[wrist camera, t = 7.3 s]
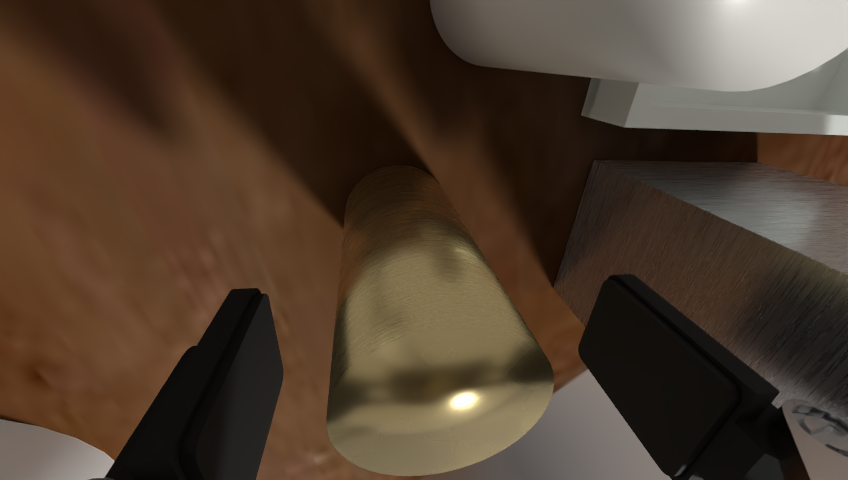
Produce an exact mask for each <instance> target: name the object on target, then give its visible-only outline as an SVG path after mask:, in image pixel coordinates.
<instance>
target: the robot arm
mask: <svg viewBox="0 0 848 480" xmlns="http://www.w3.org/2000/svg"><path fill="white" fill-rule="evenodd" d="M578 351H579V355H580V358H581V359H582V361H583V362H584V363H585V365H586V366H587V368H588V369H589V370H590V372H591V373H592V375H593V376H594V377H595V379H596V380H597V382H598V383H599V384H600V386H601V387H602V389H603V390H604V391H605V393H606V394H607V395H608V397H609V398H610V400H611V401H612V402H613V404H614V405H615V407H616V408H617V409H618V411H619V412H620V414H621V415H622V416H623V418H624V419H625V421H626V422H627V423H628V425H629V426H630V428H631V429H632V430H633V432H634V433H635V434H636V436H637V437H638V439H639V440H640V442H641V443H642V444H643V446H644V447H645V448H646V450H647V451H648V453H649V454H650V456H651V457H652V458H653V460H654V461H655V462H656V464H657V465H658V467H659V468H660V469H661V470H662V472H664V473H665V474H666V475H668V476H670V478H671V479H672V480H848V419H846V418H845V417H843V416H841V415H839V414H837V413H836V412H834V411H832V410H830V409H828V408H825V407H823V406H821V405H818V404H816V403H812V402H809V401H806V400H800V399H790V400H785V402H784V403H783V404H782V405H781V406H780V407H779V408H777V407H775V406H774V405H773V404H772V403H771V402H772V401H773V400H774V399H775V398H776V396H777V395H778V394H779V393H780V391H779V390H778V389H777V388H775V387H774V386H773V385H772V384H770V383H769V382H768V381H766V380H765V379H764V378H763V377H761V376H760V375H759V374H758V373H756V372H755V371H754V370H753V369H751V368H750V367H749V366H748V365H746V364H745V363H744V362H743V361H741V360H740V359H739V358H738V357H736V356H735V355H734V354H733V353H731V352H730V351H729V350H728V349H726V348H725V347H724V346H723V345H721V344H720V343H719V342H718V341H716V340H715V339H714V338H713V337H711V336H710V335H709V334H708V333H706V332H705V331H704V330H703V329H701V328H700V327H699V326H698V325H696V324H695V323H694V322H693V321H691V320H690V319H689V318H687V317H686V316H685V315H684V314H682V313H681V312H680V311H679V310H677V309H676V308H675V307H674V306H672V305H671V304H670V303H669V302H667V301H666V300H665V299H664V298H662V297H661V296H660V295H659V294H657V293H656V292H655V291H654V290H652V289H651V288H650V287H649V286H647V285H646V284H645V283H644V282H642V281H641V280H640V279H639V278H637V277H636V276H634V275H632V274H620V275H611V276H609V277H608V278H607V280H605V281H604V282H603V284H602V286H601V288H600V291H599V294H598V296H597V299H596V302H595V304H594V307H593V310H592V312H591V315H590V317H589V320H588V323H587V325H586V328H585V331H584V333H583V336H582V339H581V341H580V344H579V347H578ZM282 381H283V365H282V360H281V355H280V350H279V346H278V341H277V336H276V331H275V326H274V321H273V316H272V311H271V307H270V302H269V297H268V295H267V294H261V292H260V290H259V289H258V288H249V289H233V290H231V291H230V293H229V294H228V296H227V297H226V299H225V301H224V302H223V304H222V305H221V307H220V309H219V310H218V312H217V314H216V315H215V317H214V318H213V320H212V322H211V323H210V325H209V327H208V328H207V330H206V331H205V333H204V335H203V336H202V338H201V340H200V341H199V343H198V345H197V346H192V347H191V348H189V349H188V350H187V351H186V352H185V353H184V355H183V356H182V357H181V359H180V361H179V362H178V364H177V365H176V367H175V368H174V370H173V372H172V373H171V375H170V376H169V378H168V379H167V381H166V382H165V384H164V386H163V387H162V389H161V390H160V392H159V393H158V395H157V396H156V398H155V400H154V401H153V403H152V404H151V406H150V407H149V409H148V410H147V412H146V414H145V415H144V417H143V418H142V420H141V421H140V423H139V424H138V426H137V428H136V429H135V431H134V432H133V434H132V435H131V437H130V438H129V440H128V442H127V443H126V445H125V446H124V448H123V449H122V451H121V452H120V454H119V456H118V457H117V459H116V460H115V462H114V463H113V465H112V466H111V468H110V470H109V471H108V473H107V474H106V476H105V477H104V478H92V479H89V480H256V476H257V473H258V469H259V465H260V462H261V458H262V454H263V451H264V447H265V444H266V440H267V436H268V433H269V429H270V425H271V422H272V418H273V414H274V411H275V407H276V404H277V400H278V396H279V393H280V389H281V385H282Z"/></svg>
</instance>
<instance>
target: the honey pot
mask: <svg viewBox="0 0 848 480" xmlns="http://www.w3.org/2000/svg"><path fill="white" fill-rule="evenodd" d="M114 462H115V461H114V460H113V459H112V458H110V457H109V456H108V455H107V454H106V453H105V452H103V451H101V450H99V449H97V448H95V447H93V446H91V445H89V444H87V443H85V442H83V441H81V440H79V439H77V438H74V437H71V436H68V435H65V434H62V433H59V432H55V431H52V430H49V429H46V428H43V427H40V426H35V425H29V424H24V423H18V422H13V421H7V420H2V419H0V480H89V479H92V478H104V477H105V476H106V474H107V473H108V471H109V470H110V468H111V466H112V465H113V463H114Z"/></svg>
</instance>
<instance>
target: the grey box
mask: <svg viewBox="0 0 848 480" xmlns="http://www.w3.org/2000/svg"><path fill="white" fill-rule="evenodd" d="M620 274H632V275H634V276H636V277H637V278H639V279H640V280H641V281H642V282H644V283H645V284H646V285H647V286H649V287H650V288H651V289H652V290H654V291H655V292H656V293H657V294H659V295H660V296H661V297H662V298H664V299H665V300H666V301H667V302H669V303H670V304H671V305H672V306H674V307H675V308H676V309H677V310H679V311H680V312H681V313H682V314H684V315H685V316H686V317H687V318H689V319H690V320H691V321H693V322H694V323H695V324H696V325H698V326H699V327H700V328H701V329H703V330H704V331H705V332H706V333H708V334H709V335H710V336H711V337H713V338H714V339H715V340H716V341H718V342H719V343H720V344H721V345H723V346H724V347H725V348H726V349H728V350H729V351H730V352H731V353H733V354H734V355H735V356H736V357H738V358H739V359H740V360H741V361H743V362H744V363H745V364H746V365H748V366H749V367H750V368H751V369H753V370H754V371H755V372H756V373H758V374H759V375H760V376H761V377H763V378H764V379H765V380H766V381H768V382H769V383H770V384H772V385H773V386H774V387H775V388H777V389H778V390H779V391H780V393H779V394H778V395H777V396H776V398H775V399H774V400H773V401H772V402H771V403H772V404H773V405H774V406H775V407H777V408H779V407H780V406H781V405H782V404H783V403H784V402H785V400H790V399H800V400H806V401H809V402H812V403H816V404H818V405H821V406H823V407H825V408H828V409H830V410H832V411H834V412H836V413H837V414H839V415H841V416H843V417H845V418H846V419H848V187H847V186H844V185H840V184H836V183H833V182H829V181H825V180H822V179H818V178H814V177H810V176H807V175H803V174H799V173H796V172H792V171H788V170H785V169H781V168H777V167H774V166H770V165H766V164H762V163H759V162H692V161H621V160H593V163H592V167H591V170H590V173H589V176H588V179H587V182H586V186H585V189H584V192H583V195H582V198H581V202H580V205H579V208H578V211H577V214H576V217H575V221H574V224H573V227H572V230H571V233H570V237H569V240H568V243H567V246H566V249H565V252H564V256H563V259H562V262H561V265H560V268H559V272H558V275H557V278H556V281H555V284H554V287H553V289H554V290H555V291H556V293H557V294H558V295H559V296H560V297H561V299H562V300H563V301H564V302H565V303H566V305H567V306H568V307H569V308H570V309H571V311H572V312H573V313H574V314H575V315H576V317H577V318H578V319H579V320H580V321H581V323H582V324H583V325H584V326H585V327H586V325H587V323H588V320H589V317H590V315H591V312H592V310H593V307H594V304H595V302H596V299H597V296H598V294H599V291H600V288H601V286H602V284H603V282H604V281H605V280H607V278H608V277H609V276H611V275H620Z"/></svg>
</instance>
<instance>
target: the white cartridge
mask: <svg viewBox="0 0 848 480" xmlns="http://www.w3.org/2000/svg"><path fill="white" fill-rule="evenodd" d="M430 7H431V12H432V16H433V19H434V23H435V26H436V28H437V30H438V32H439V34H440V36H441V38H442V39H443V41H444V42H445V44H446V45H447V46H448V47H449V49H450V50H451V51H452V52H453V53H455V54H456V55H457V56H458V57H460V58H461V59H463V60H464V61H466V62H468V63H471V64H474V65H477V66H484V67H493V68H502V69H512V70H522V71H532V72H541V73H551V74H561V75H571V76H580V77H590V78H600V79H609V80H619V81H629V82H639V83H648V84H658V85H668V86H678V87H687V88H697V89H707V90H716V91H726V92H732V91H751V90H756V89H762V88H767V87H770V86H774V85H777V84H780V83H783V82H786V81H789V80H791V79H794V78H796V77H798V76H800V75H802V74H805V73H807V72H809V71H811V70H813V69H815V68H817V67H818V66H820V65H822V64H823V63H825V62H827V61H829V60H830V59H832V58H834V57H836V56H837V55H838V54H840V53H841V52H843V51H844V50H846V49H847V48H848V0H430Z"/></svg>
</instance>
